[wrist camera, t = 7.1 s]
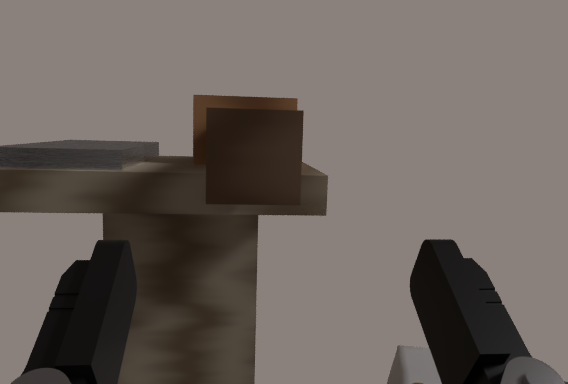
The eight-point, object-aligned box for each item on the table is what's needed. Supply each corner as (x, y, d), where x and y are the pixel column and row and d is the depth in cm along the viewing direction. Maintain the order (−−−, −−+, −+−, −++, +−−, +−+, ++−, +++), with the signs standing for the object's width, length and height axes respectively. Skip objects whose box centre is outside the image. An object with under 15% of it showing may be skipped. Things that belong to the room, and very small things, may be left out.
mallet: (150, 203, 14) (148, 61, 13) (199, 158, 32) (200, 99, 32) (352, 206, 14) (359, 71, 14) (286, 160, 33) (288, 102, 32)
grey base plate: (-10, 168, 22) (-12, 146, 22) (71, 154, 33) (70, 139, 33) (121, 170, 23) (121, 149, 23) (158, 156, 34) (158, 142, 33)
